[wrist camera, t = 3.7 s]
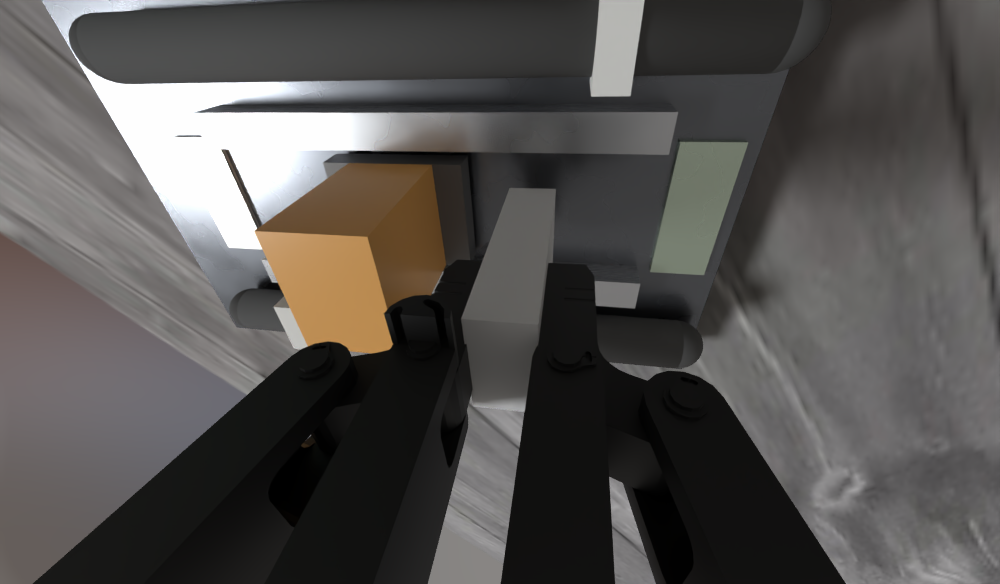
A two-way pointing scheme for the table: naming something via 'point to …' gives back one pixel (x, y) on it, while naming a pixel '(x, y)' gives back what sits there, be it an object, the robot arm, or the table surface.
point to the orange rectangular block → (369, 242)
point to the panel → (461, 131)
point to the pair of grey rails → (457, 73)
